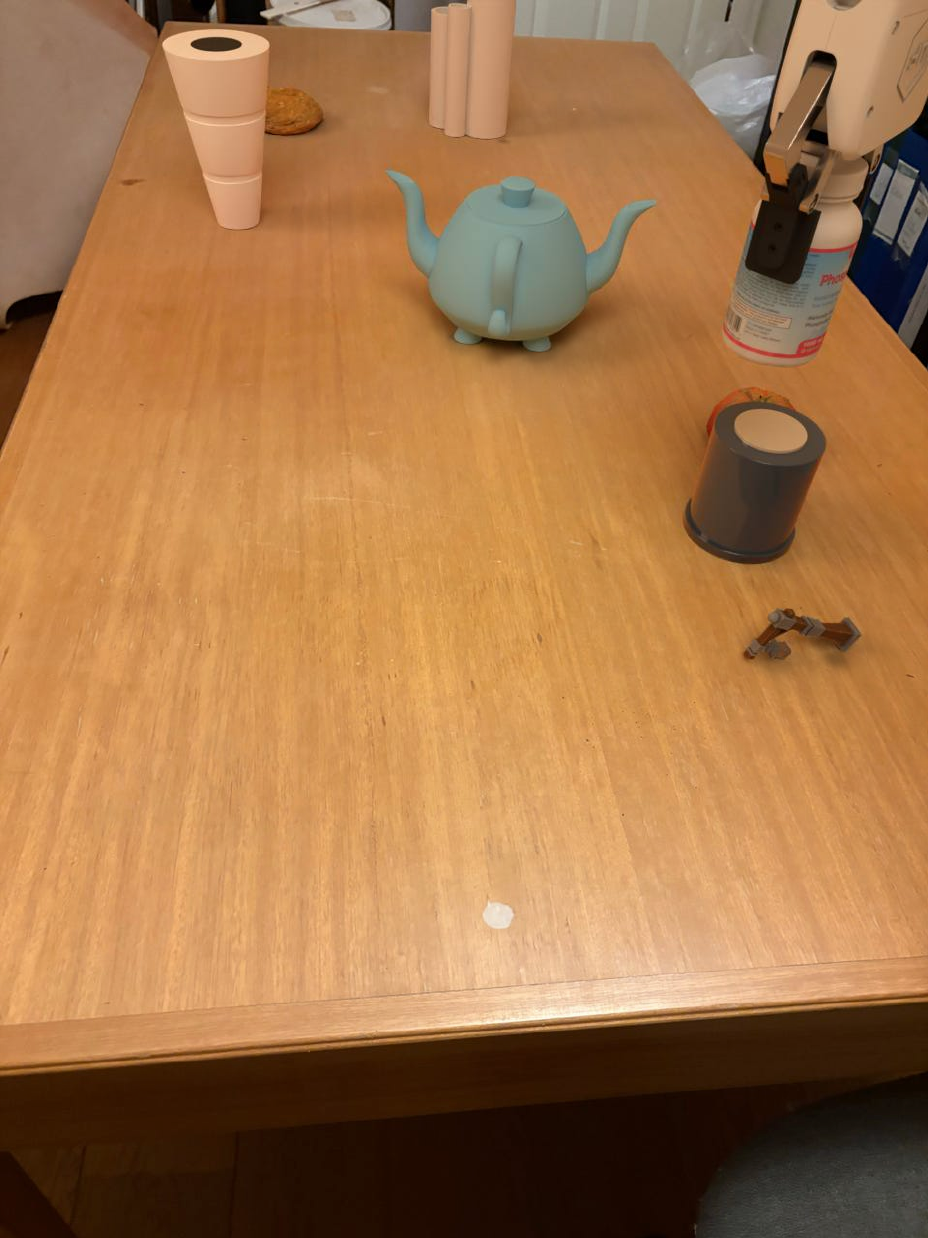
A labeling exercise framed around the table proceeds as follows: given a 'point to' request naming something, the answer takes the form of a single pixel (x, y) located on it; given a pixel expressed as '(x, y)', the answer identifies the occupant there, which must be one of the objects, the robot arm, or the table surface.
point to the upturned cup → (753, 481)
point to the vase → (471, 67)
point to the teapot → (511, 260)
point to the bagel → (290, 111)
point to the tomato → (746, 396)
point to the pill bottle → (798, 313)
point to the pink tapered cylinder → (224, 114)
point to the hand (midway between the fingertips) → (798, 253)
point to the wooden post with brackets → (786, 621)
